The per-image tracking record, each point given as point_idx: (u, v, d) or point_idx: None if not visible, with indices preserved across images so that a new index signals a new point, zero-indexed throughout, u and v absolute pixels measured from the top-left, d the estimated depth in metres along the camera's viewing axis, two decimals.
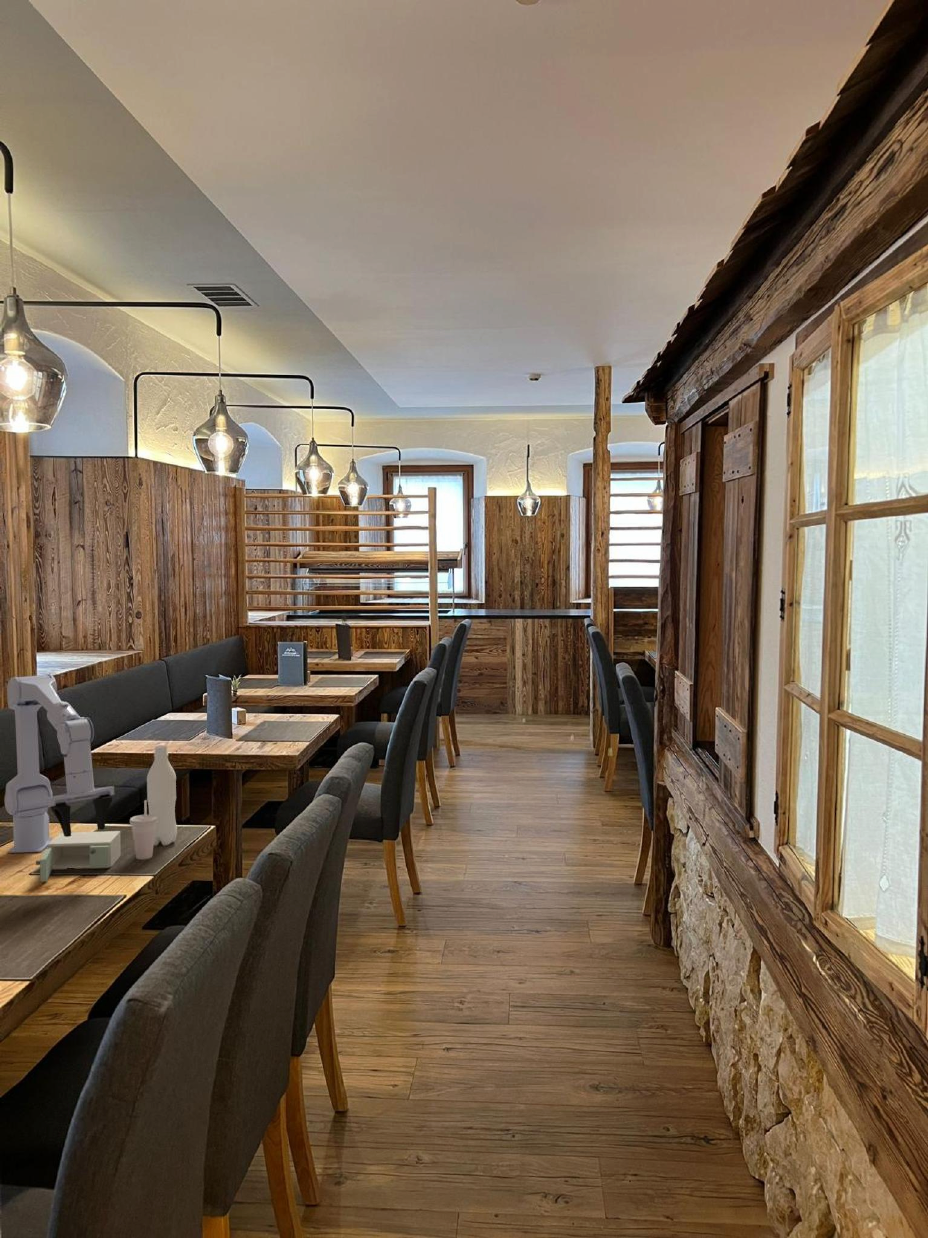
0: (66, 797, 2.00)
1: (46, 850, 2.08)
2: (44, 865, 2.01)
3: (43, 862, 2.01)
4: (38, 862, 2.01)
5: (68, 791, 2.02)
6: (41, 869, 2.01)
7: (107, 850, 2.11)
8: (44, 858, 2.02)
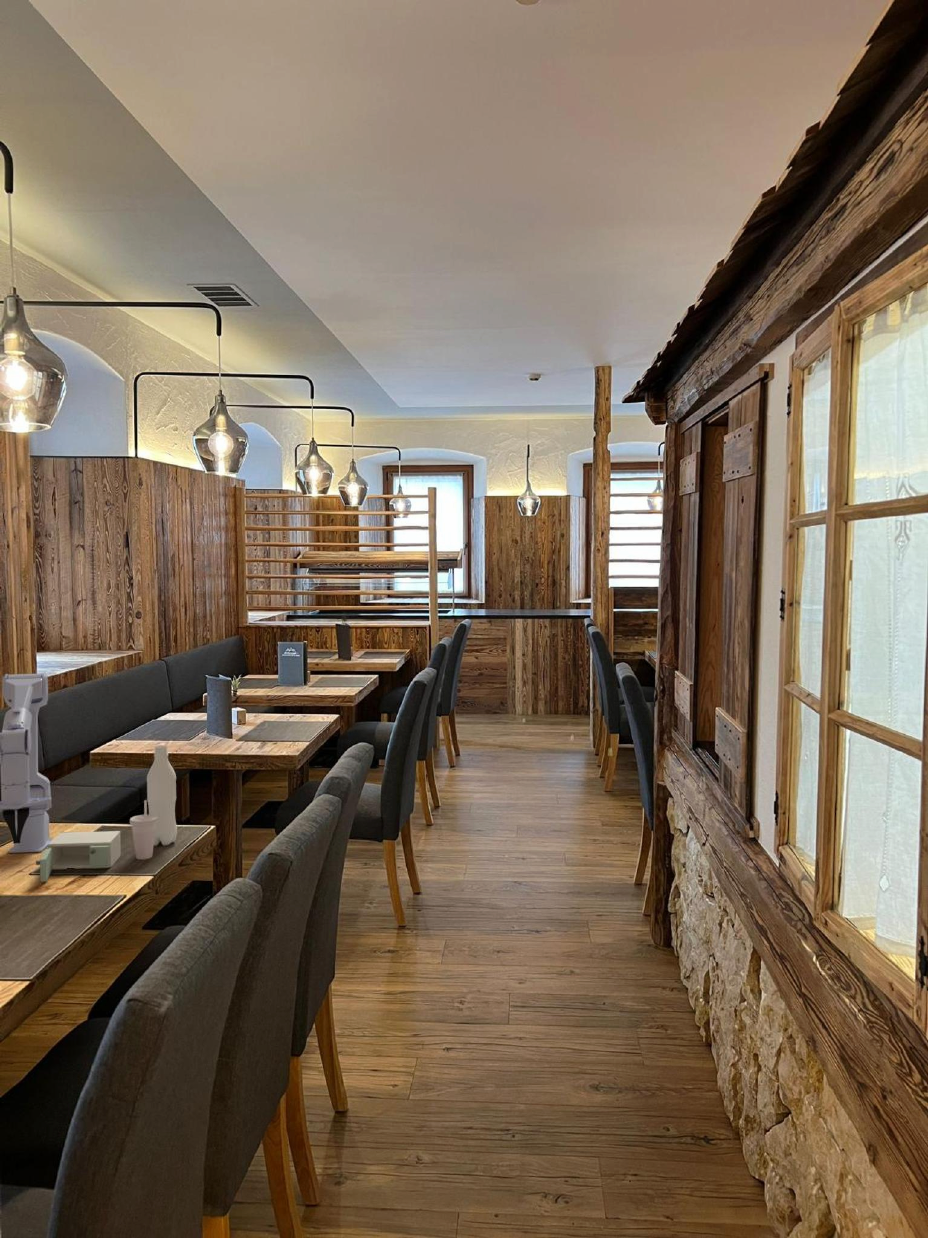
0: None
1: (46, 850, 2.08)
2: (44, 865, 2.01)
3: (43, 862, 2.01)
4: (38, 862, 2.01)
5: (1, 800, 2.01)
6: (41, 869, 2.01)
7: (107, 850, 2.11)
8: (44, 858, 2.02)
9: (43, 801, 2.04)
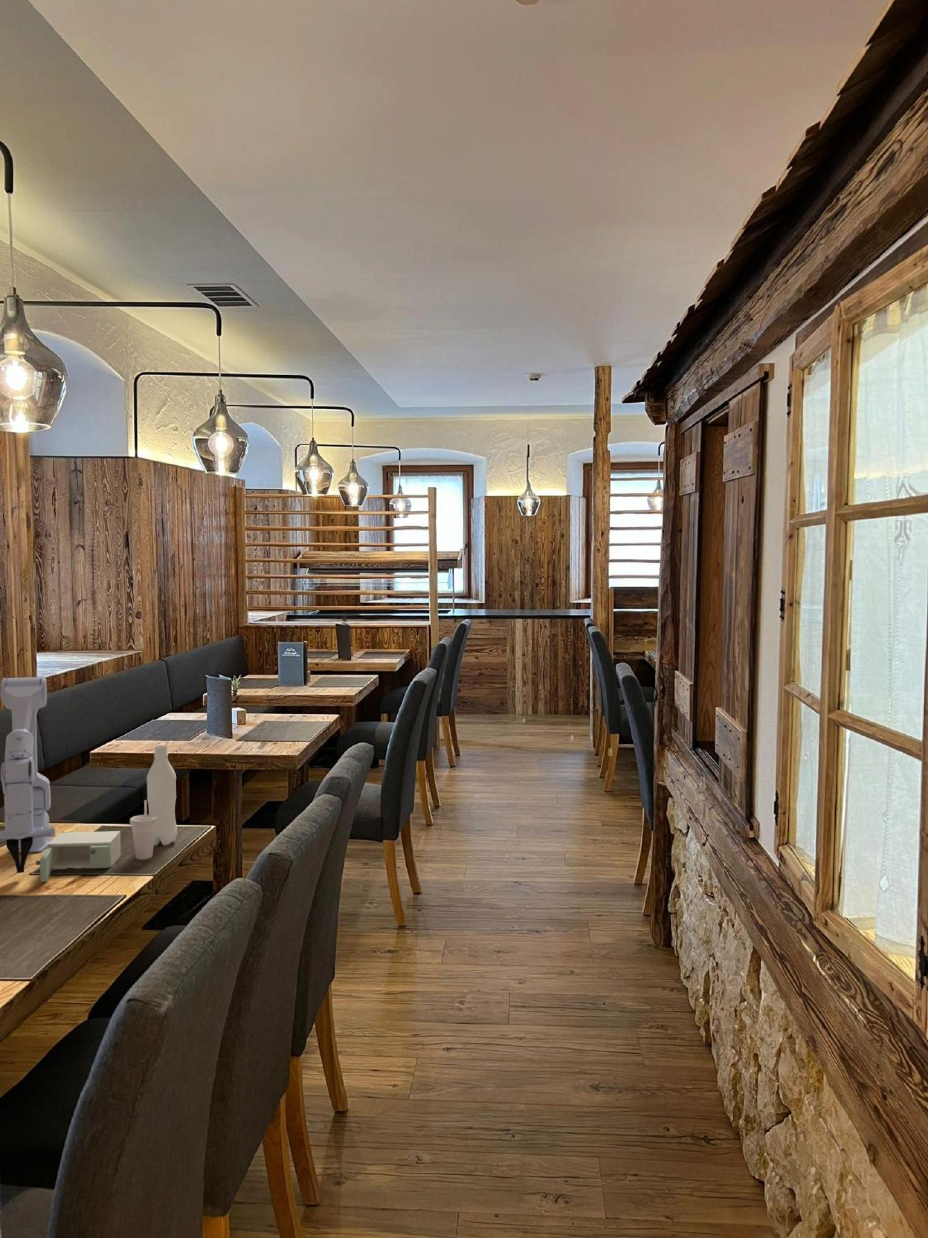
0: None
1: (46, 850, 2.08)
2: (44, 865, 2.01)
3: (43, 862, 2.01)
4: (38, 862, 2.01)
5: (5, 830, 2.02)
6: (41, 869, 2.01)
7: (107, 850, 2.11)
8: (44, 858, 2.02)
9: (46, 830, 2.04)
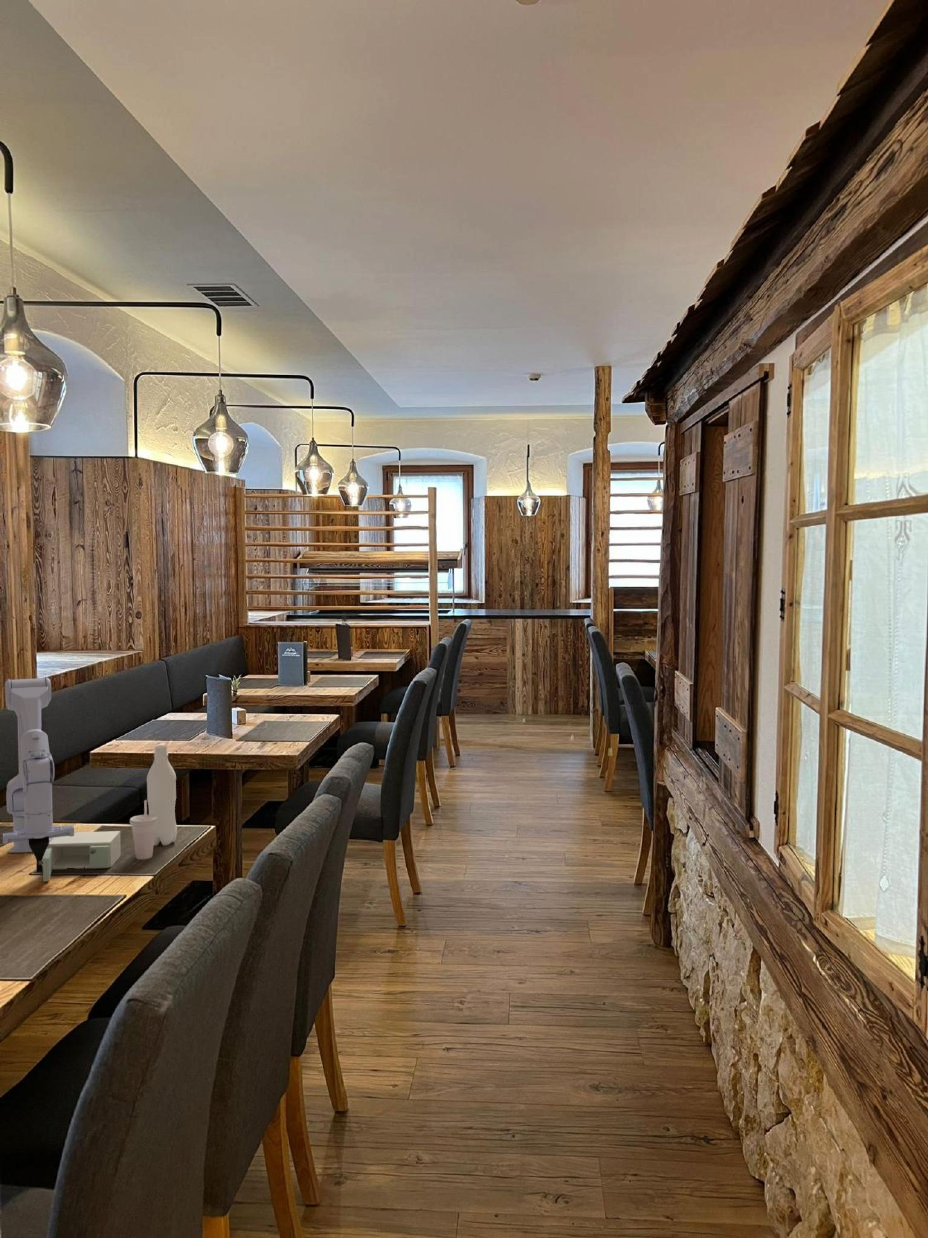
0: (19, 837, 2.00)
1: (47, 850, 2.08)
2: (47, 865, 2.02)
3: (46, 862, 2.01)
4: (41, 862, 2.01)
5: (24, 829, 2.02)
6: (44, 869, 2.01)
7: (107, 850, 2.11)
8: (46, 858, 2.02)
9: (66, 830, 2.05)
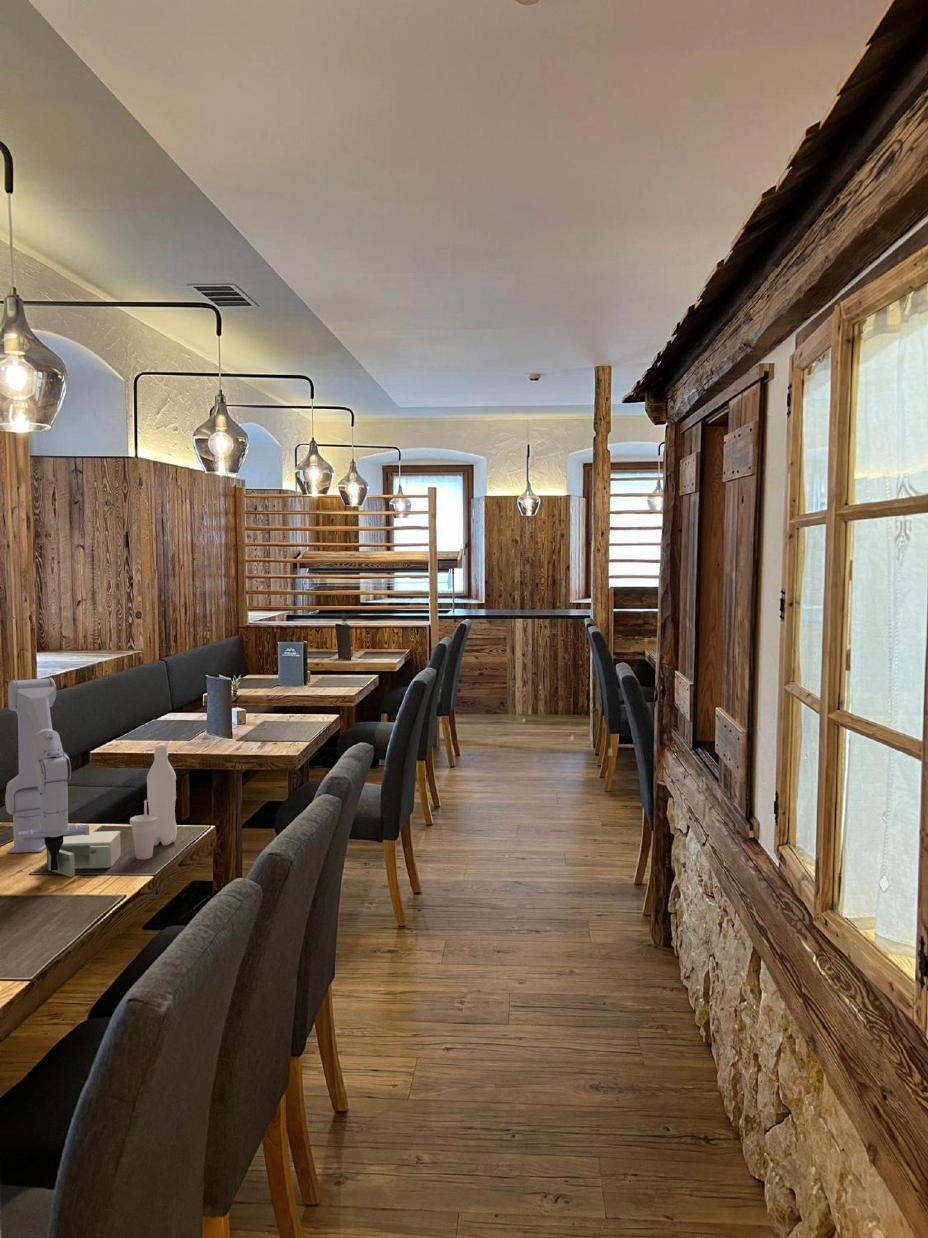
0: (34, 835, 2.01)
1: None
2: (73, 860, 2.05)
3: (72, 857, 2.05)
4: (67, 858, 2.04)
5: (40, 828, 2.03)
6: (70, 864, 2.05)
7: (107, 850, 2.11)
8: (71, 853, 2.05)
9: (81, 829, 2.06)
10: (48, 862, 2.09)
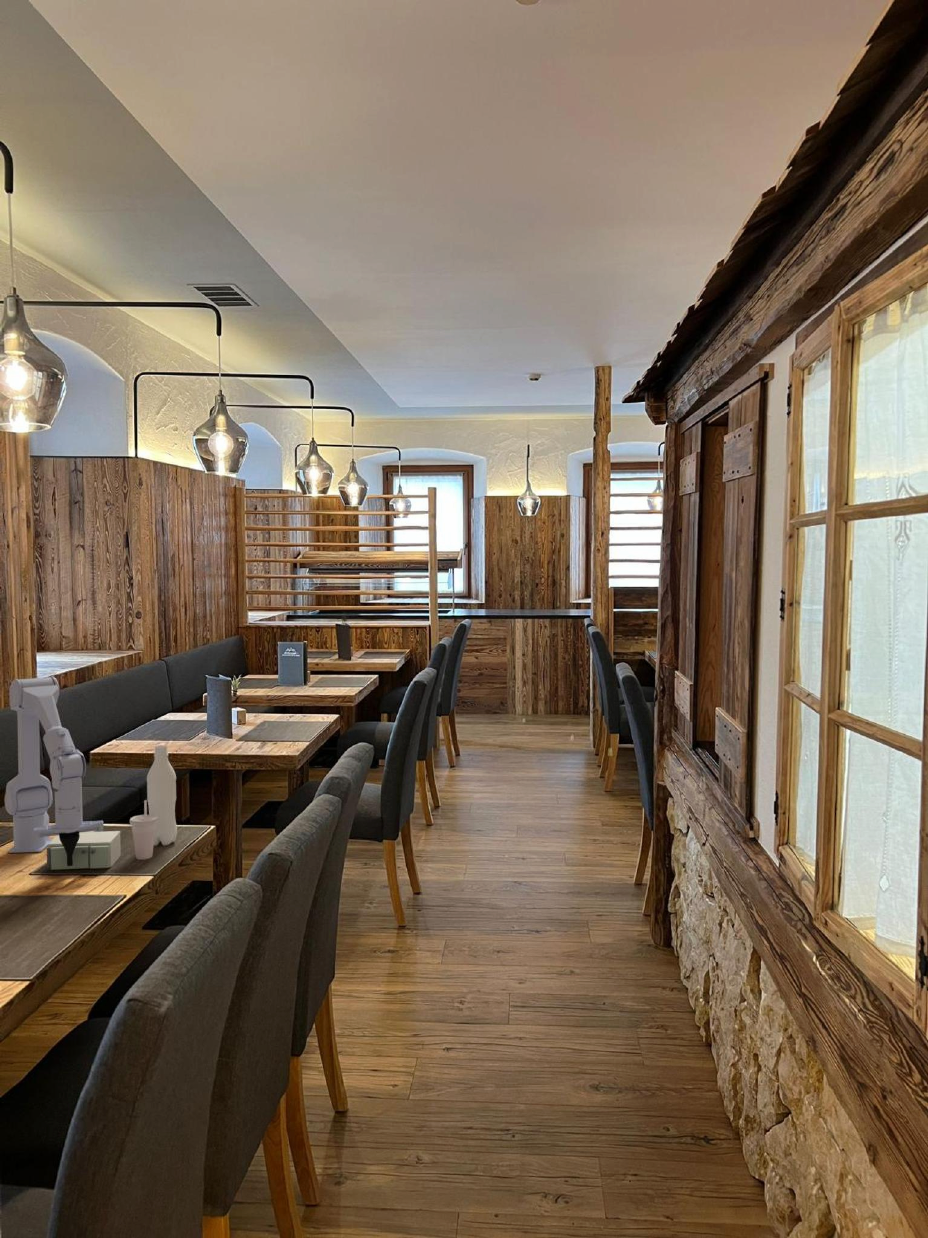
0: (50, 831, 2.04)
1: (58, 847, 2.10)
2: None
3: (88, 848, 2.11)
4: (85, 850, 2.10)
5: (55, 824, 2.06)
6: (88, 856, 2.11)
7: (107, 850, 2.11)
8: None
9: (95, 824, 2.09)
10: (51, 861, 2.09)
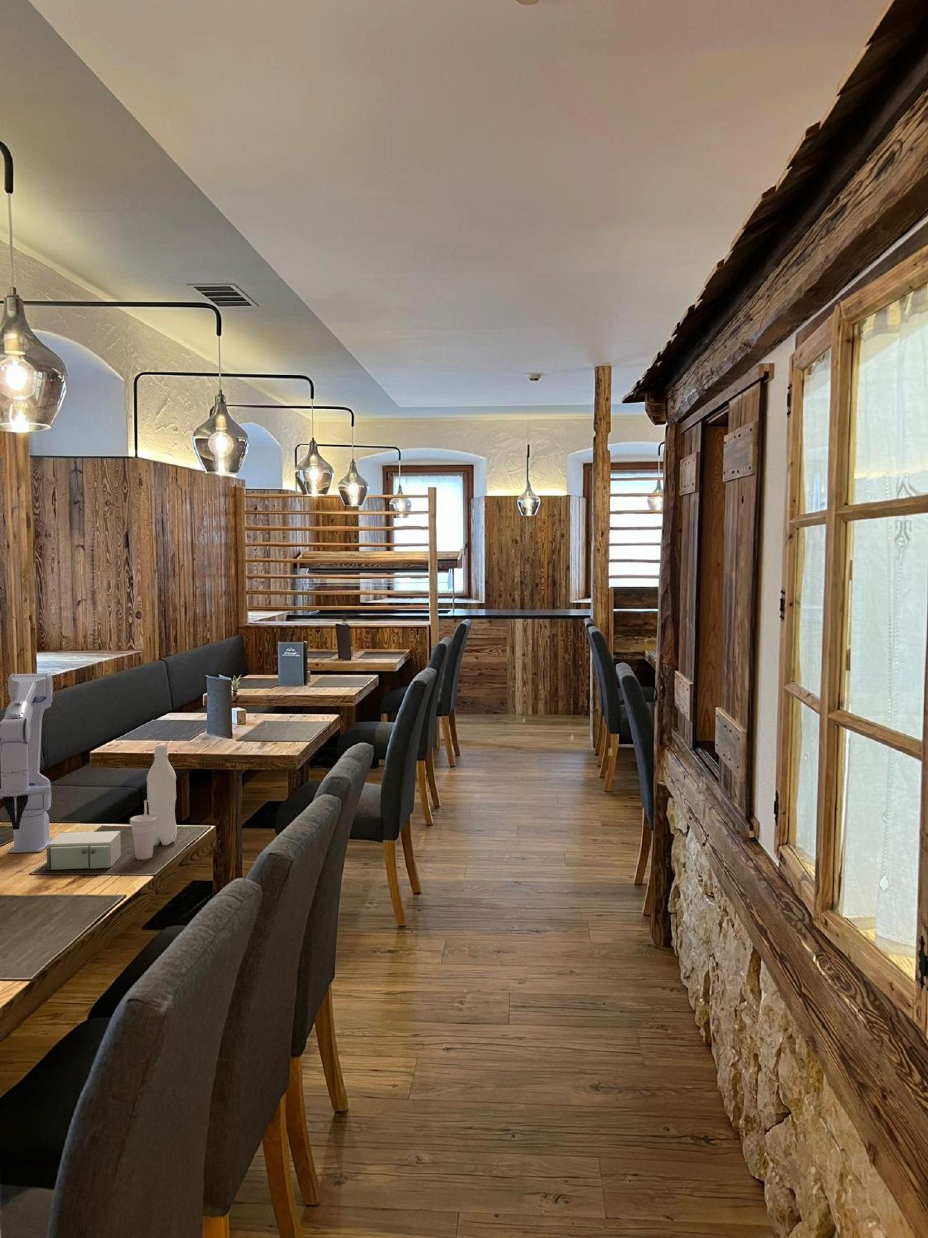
0: None
1: (58, 847, 2.10)
2: None
3: (88, 848, 2.11)
4: (85, 850, 2.10)
5: (1, 788, 2.07)
6: (88, 856, 2.11)
7: (107, 850, 2.11)
8: (85, 846, 2.11)
9: (41, 789, 2.10)
10: (51, 861, 2.09)
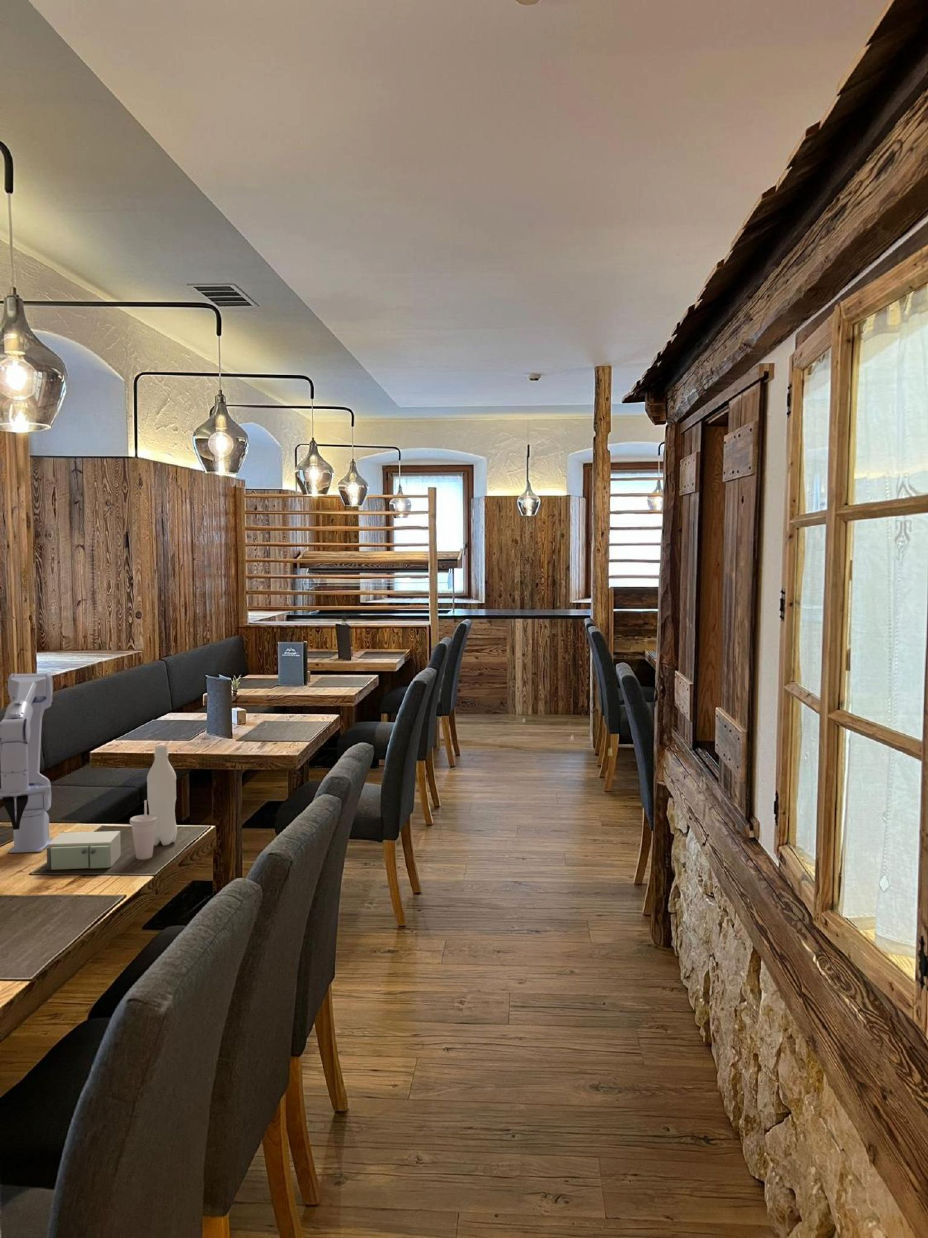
0: None
1: (58, 847, 2.10)
2: None
3: (88, 848, 2.11)
4: (85, 850, 2.10)
5: (1, 788, 2.07)
6: (88, 856, 2.11)
7: (107, 850, 2.11)
8: (85, 846, 2.11)
9: (41, 789, 2.10)
10: (51, 861, 2.09)
